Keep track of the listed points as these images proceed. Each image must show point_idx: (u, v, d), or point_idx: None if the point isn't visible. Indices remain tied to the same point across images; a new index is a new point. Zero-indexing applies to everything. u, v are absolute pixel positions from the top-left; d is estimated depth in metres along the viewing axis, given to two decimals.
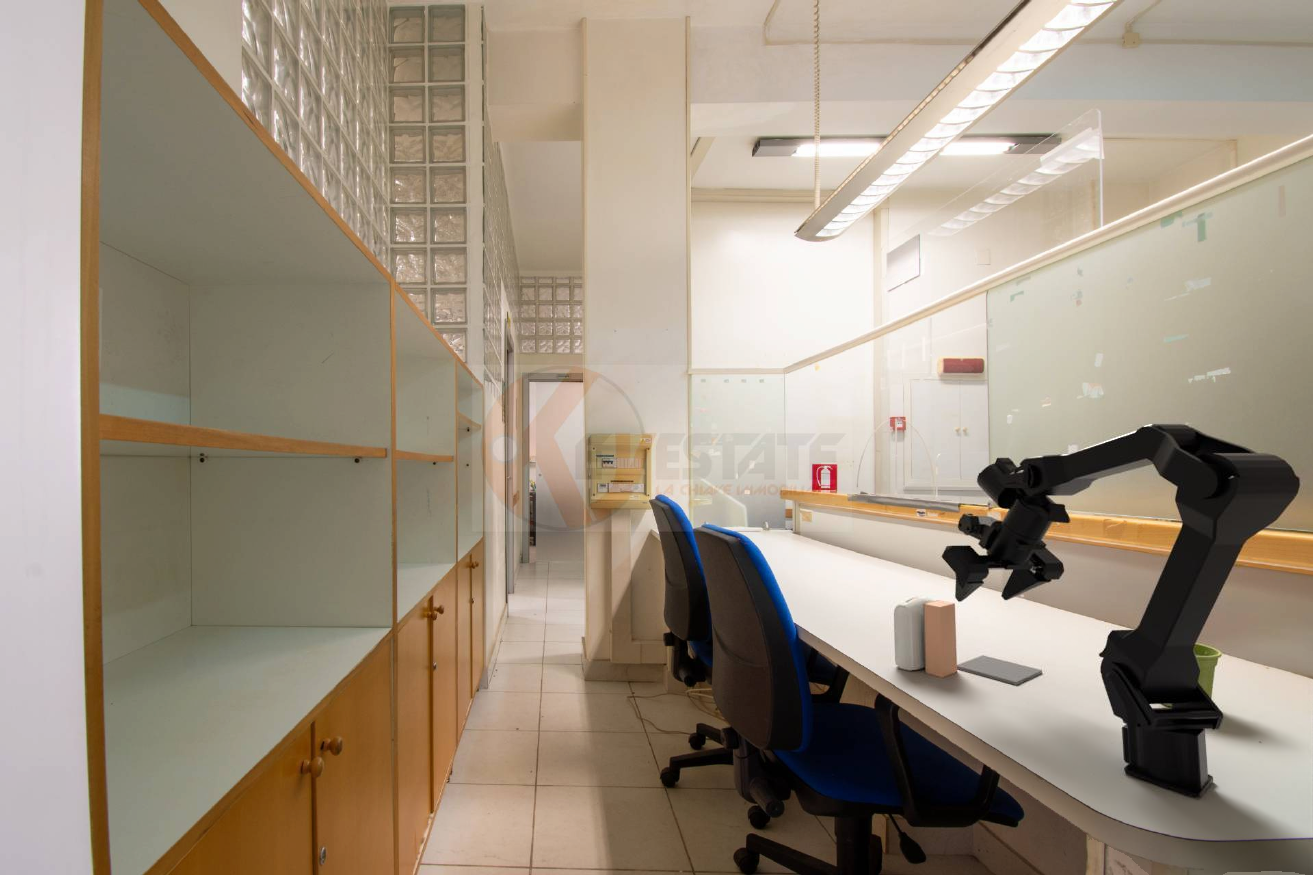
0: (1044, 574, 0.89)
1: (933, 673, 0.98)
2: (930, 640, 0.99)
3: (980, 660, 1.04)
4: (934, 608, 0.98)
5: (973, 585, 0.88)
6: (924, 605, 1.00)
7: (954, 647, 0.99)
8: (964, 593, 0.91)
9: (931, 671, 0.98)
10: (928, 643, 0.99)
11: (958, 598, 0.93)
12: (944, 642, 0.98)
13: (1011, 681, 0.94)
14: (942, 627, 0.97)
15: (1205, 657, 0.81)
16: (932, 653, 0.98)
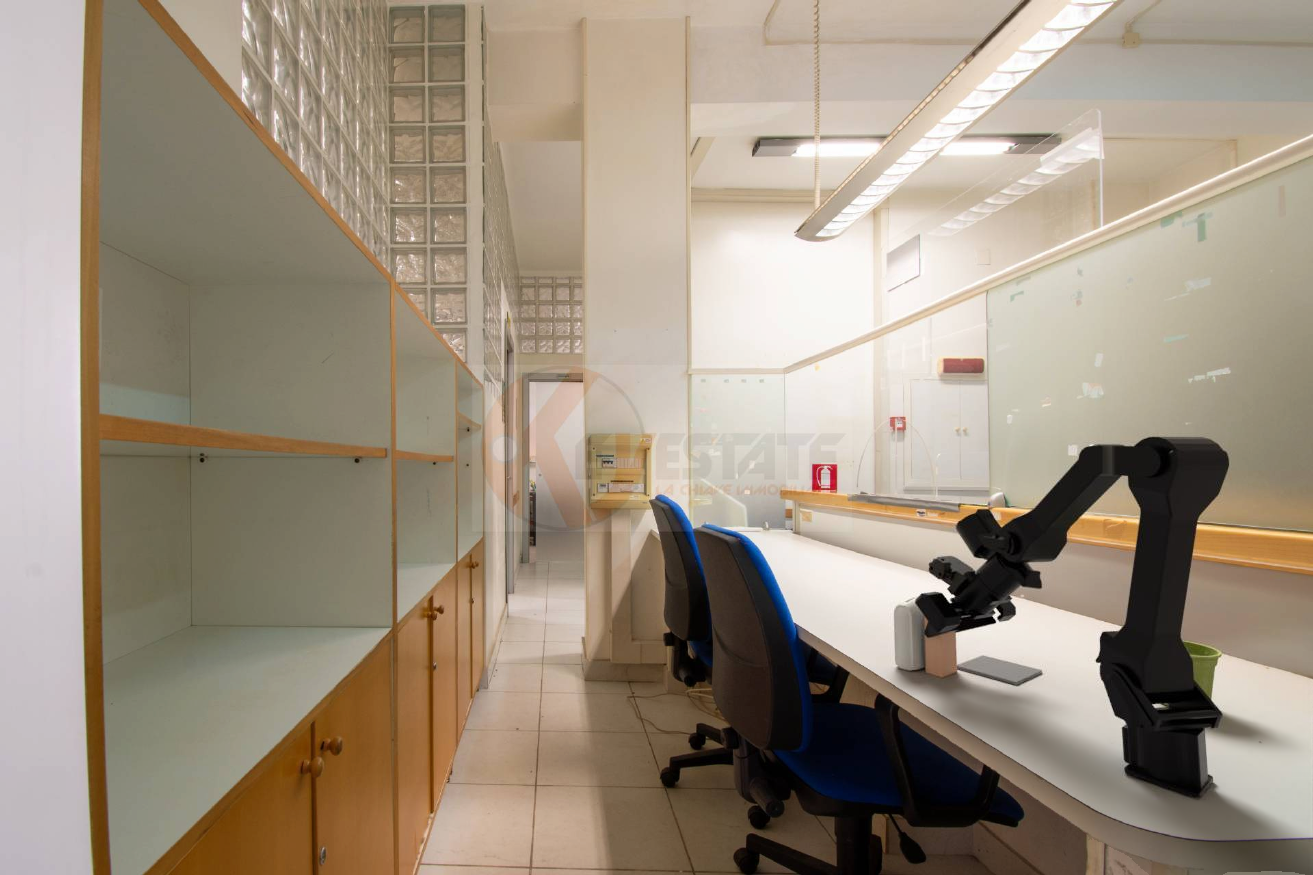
0: (1000, 618, 0.95)
1: (933, 673, 0.98)
2: (930, 640, 0.99)
3: (980, 660, 1.04)
4: None
5: None
6: None
7: (954, 647, 0.99)
8: (936, 634, 0.96)
9: (931, 671, 0.98)
10: (928, 643, 0.99)
11: (927, 635, 0.98)
12: (944, 641, 0.98)
13: (1011, 681, 0.94)
14: None
15: (1205, 657, 0.81)
16: (932, 653, 0.98)
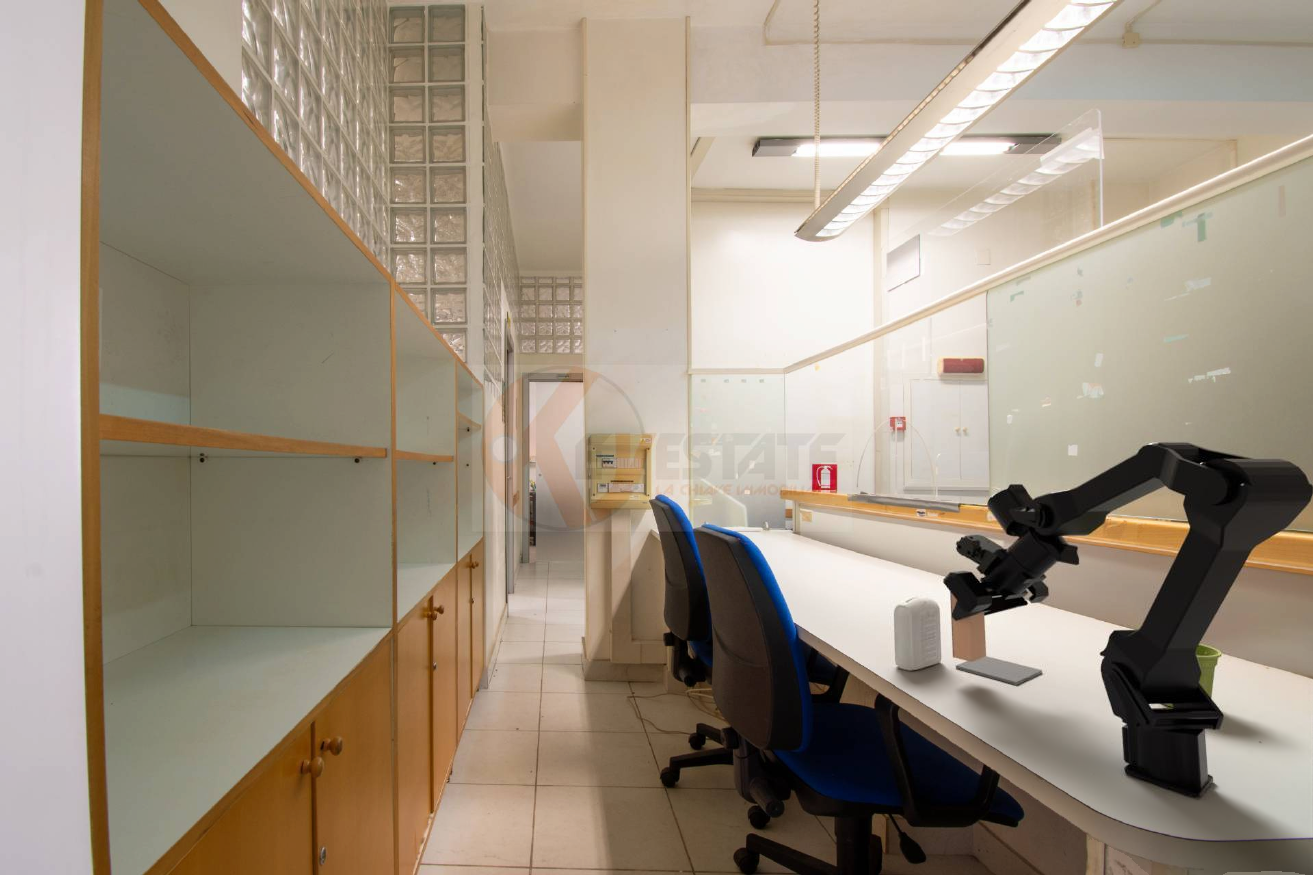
0: (1032, 599, 0.91)
1: (961, 658, 0.93)
2: (958, 623, 0.94)
3: (980, 660, 1.04)
4: None
5: (980, 612, 0.88)
6: None
7: (983, 630, 0.95)
8: (965, 615, 0.91)
9: (959, 656, 0.93)
10: (955, 626, 0.94)
11: (955, 617, 0.94)
12: (973, 624, 0.93)
13: (1011, 681, 0.94)
14: None
15: (1205, 657, 0.81)
16: (960, 636, 0.93)
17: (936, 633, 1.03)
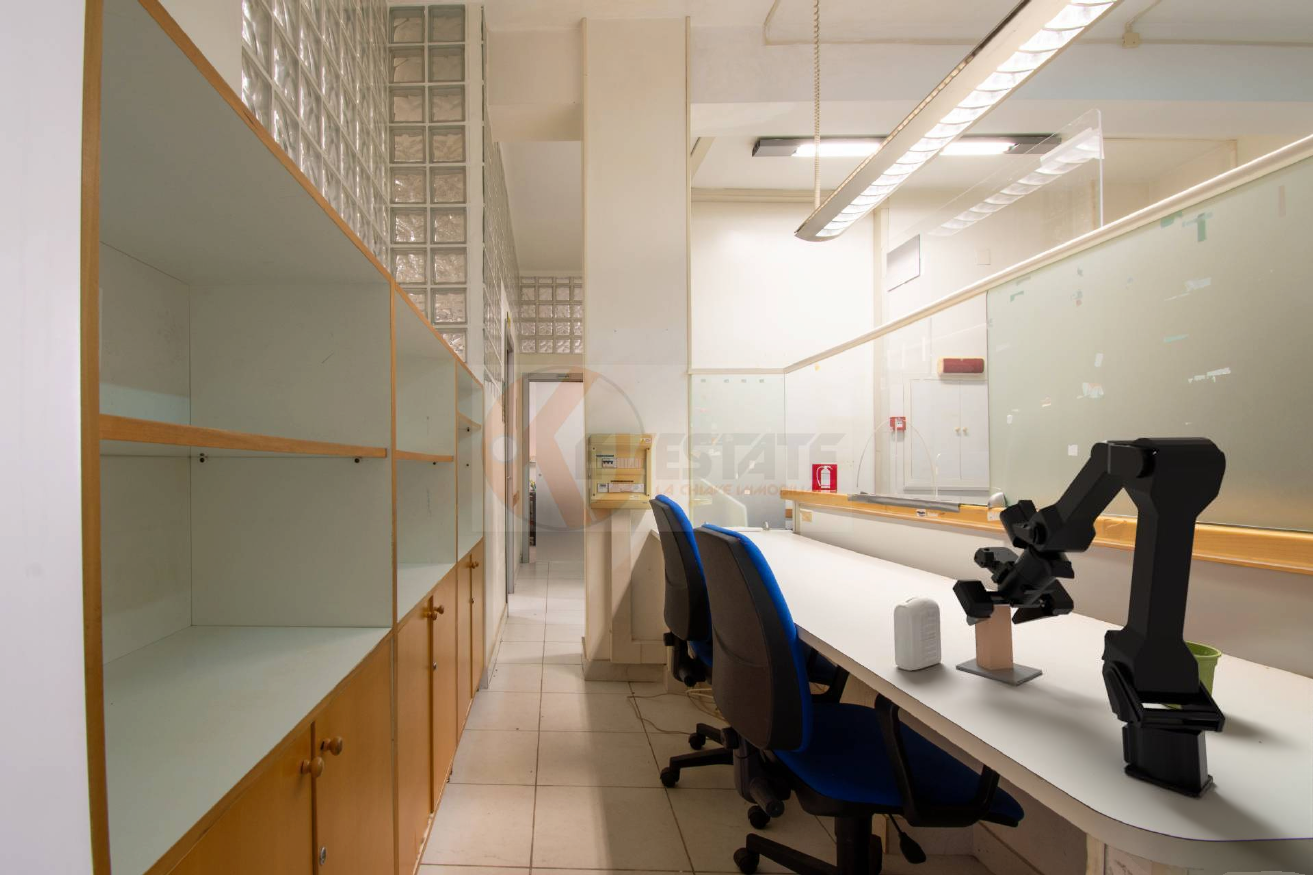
0: (1052, 611, 0.95)
1: (983, 665, 1.00)
2: (980, 633, 1.01)
3: None
4: None
5: (980, 618, 0.95)
6: None
7: (1009, 643, 1.00)
8: (973, 621, 0.98)
9: (981, 663, 1.01)
10: (978, 636, 1.01)
11: (968, 622, 1.01)
12: (994, 635, 0.99)
13: (1011, 681, 0.94)
14: (990, 621, 0.99)
15: (1205, 657, 0.81)
16: (982, 645, 1.01)
17: (936, 633, 1.03)
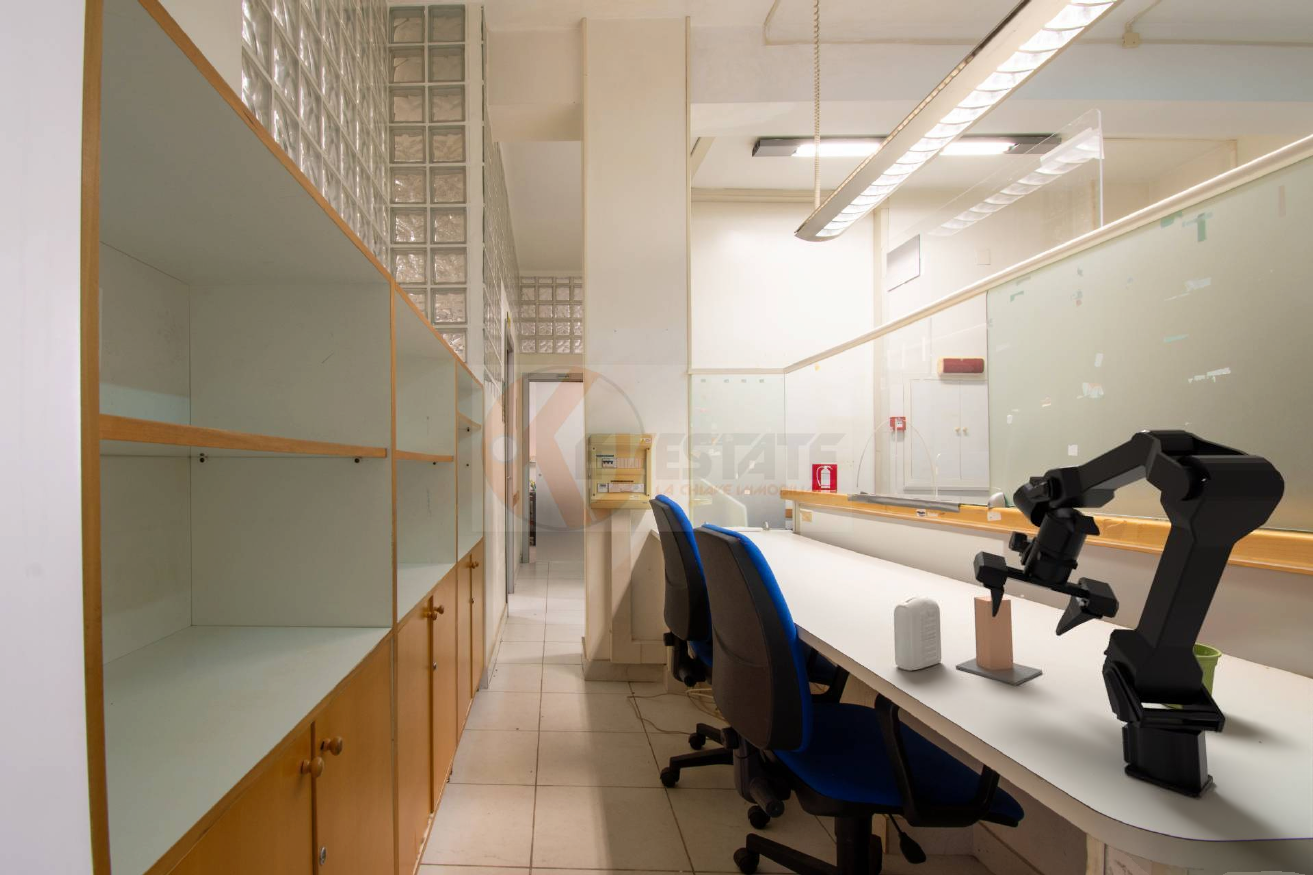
0: (1087, 604, 0.84)
1: (983, 665, 1.00)
2: (980, 633, 1.01)
3: None
4: (982, 602, 1.00)
5: (992, 591, 0.89)
6: (975, 599, 1.02)
7: (1009, 643, 1.00)
8: (992, 604, 0.91)
9: (981, 663, 1.01)
10: (978, 636, 1.01)
11: (992, 612, 0.93)
12: (994, 636, 0.99)
13: (1011, 681, 0.94)
14: (991, 621, 0.99)
15: (1205, 657, 0.81)
16: (982, 646, 1.00)
17: (936, 633, 1.03)
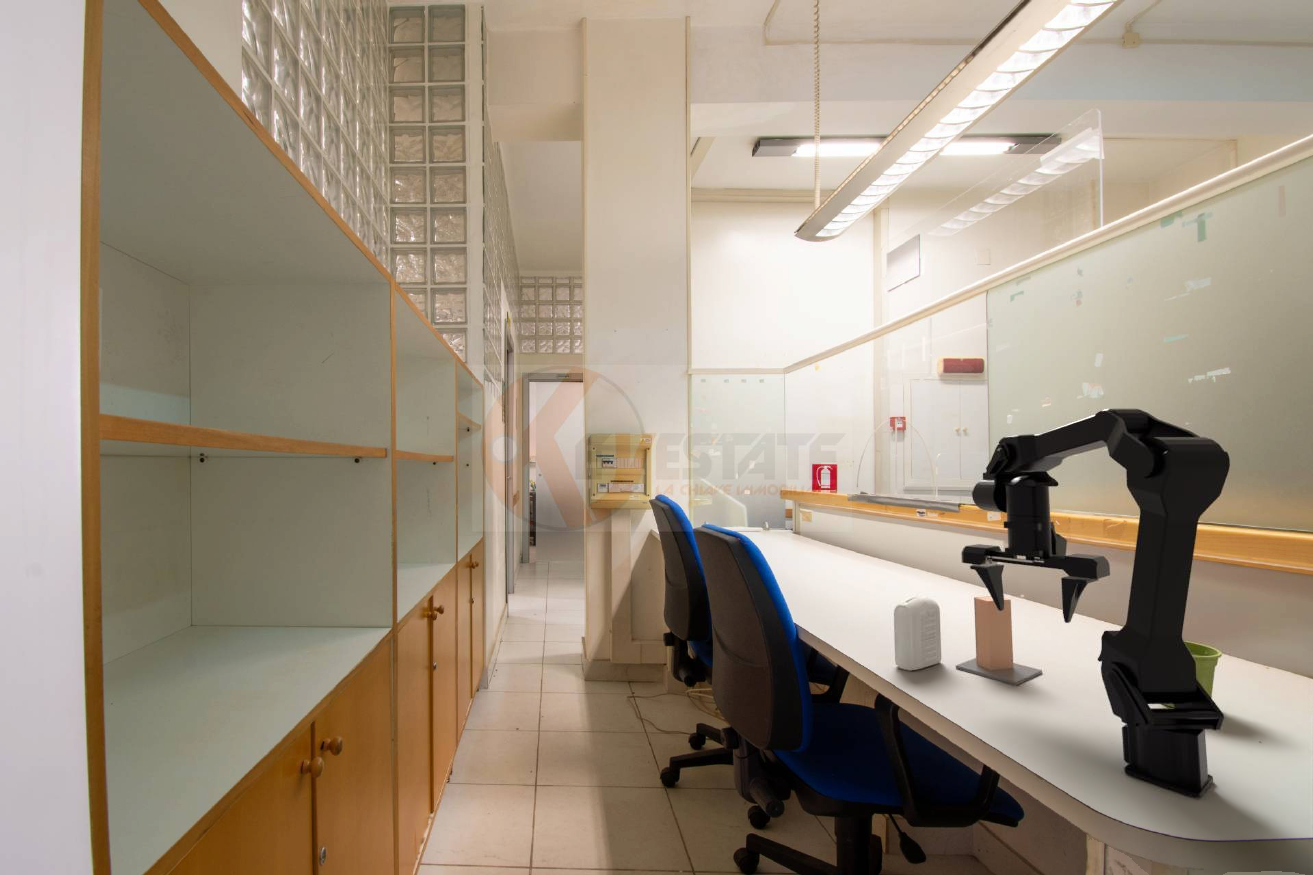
0: (1063, 568, 0.81)
1: (983, 665, 1.00)
2: (980, 633, 1.01)
3: None
4: (982, 602, 1.00)
5: (978, 571, 0.91)
6: (975, 599, 1.02)
7: (1009, 643, 1.00)
8: None
9: (981, 663, 1.01)
10: (978, 636, 1.01)
11: None
12: (994, 636, 0.99)
13: (1011, 681, 0.94)
14: (991, 621, 0.99)
15: (1205, 657, 0.81)
16: (982, 646, 1.00)
17: (936, 633, 1.03)
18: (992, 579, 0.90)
